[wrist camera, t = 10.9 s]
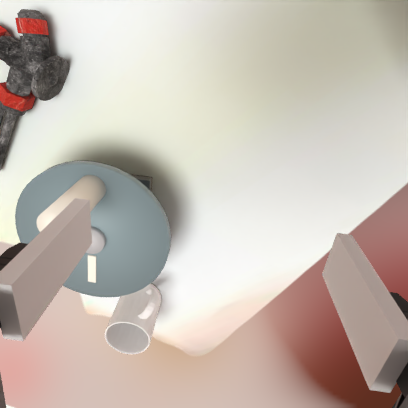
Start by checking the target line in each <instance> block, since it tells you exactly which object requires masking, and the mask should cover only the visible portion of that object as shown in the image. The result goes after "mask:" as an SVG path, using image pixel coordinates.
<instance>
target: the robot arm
mask: <svg viewBox="0 0 408 408" xmlns="http://www.w3.org/2000/svg"><path fill="white" fill-rule="evenodd" d="M91 244H92V233H91V216H90V200H86V199H78V198H75V199H74V200H73V201H72V202H71V203H70V204H69V205H68V206H67V207H66V208H65V209H64V210H63V211H62V212H61V213H59V214H58V215H57V216H56V217H55V218H54V219H53V220H52V221H51V222H50V223H49V224H48V225H47V226H46V227H45V228H44V229H43V230H42V231H41V232H40V233H39V234H38V235H37V236H36V237H35V238H34V239H33V240H32V241H31V242H30V243H29V244H26V243H19V244H17V245H15V246H13V247H11V248H9V249H7V250H6V251H5V252H4V253H3V254H2V255H1V256H0V328H1V330H2V334H3V338H5V339H11V340H19V341H24V339H25V338H26V337H27V335H28V334H29V332H30V331H31V330H32V328H33V327H34V325H35V324H36V322H37V321H38V320H39V318H40V317H41V315H42V314H43V312H44V311H45V310H46V308H47V307H48V305H49V304H50V302H51V301H52V300H53V298H54V297H55V295H56V294H57V293H58V291H59V290H60V288H61V287H62V286H63V284H64V283H65V281H66V280H67V278H68V277H69V276H70V274H71V273H72V271H73V270H74V268H75V267H76V266H77V264H78V263H79V261H80V260H81V258H82V257H83V256H84V254H85V253H86V251H87V250H88V248H89V247H90V246H91ZM322 275H323V278H324V280H325V283H326V285H327V287H328V290H329V292H330V295H331V297H332V300H333V302H334V305H335V307H336V309H337V312H338V314H339V317H340V319H341V321H342V324H343V326H344V329H345V331H346V334H347V336H348V338H349V341H350V343H351V346H352V348H353V351H354V353H355V356H356V358H357V360H358V363H359V365H360V368H361V370H362V372H363V375H364V377H365V380H366V382H367V385H368V387H369V389H370V390H375V391H382V392H389V393H390V392H391V390H392V389H393V387H394V386H395V384H396V382H397V384H398V386H399V388H400V390H401V392H402V393H401V395H400V397H399V398H398V400H397V401H396V403H395V404H394V406H393V407H392V408H408V302H407V301H406V300H405V299H403V298H402V297H401V296H399V294H397V293H392V292H389V291H388V290H387V288H386V287H385V285H384V284H383V282H382V281H381V279H380V278H379V276H378V275H377V273H376V272H375V270H374V268H373V267H372V265H371V264H370V262H369V261H368V259H367V258H366V256H365V255H364V253H363V252H362V250H361V249H360V247H359V246H358V244H357V243H356V241H355V239H354V238H353V236H352V235H347V234H340V233H337V235H336V237H335V240H334V243H333V246H332V248H331V251H330V254H329V257H328V260H327V262H326V265H325V268H324V271H323V273H322ZM0 408H6V404H5V398H4V392H3V386H2V380H1V375H0Z"/></svg>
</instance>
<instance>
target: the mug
mask: <svg viewBox="0 0 408 408" xmlns="http://www.w3.org/2000/svg"><path fill="white" fill-rule="evenodd" d="M160 303H161V294H160V292H159V290H158V289H157V288H156V287H155V286H154V285H153V284H151V283H150V284H149V285H148V286H146V287H145V288H143V289H141V290H139V291H137V292H135V293H132V294H128V295H124V296H120V299H119V301H118V303H117V305H116V308H115V310H114V312H113V315H112V317H111V320H110V322H109V324H108V326H107V328H106V331H105V338H106V341H107V343H108V344H109V345H110V346H111V347H112V348H114V349H115V350H117V351H119V352H122V353H126V354H137V353H141V352H143V351H145V350H146V349H147V348H148V346H149V345H150V340H151V337H152V333H153V330H154V326H155V322H156V318H157V315H158V311H159V307H160Z"/></svg>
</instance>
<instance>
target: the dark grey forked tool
mask: <svg viewBox="0 0 408 408" xmlns="http://www.w3.org/2000/svg"><path fill="white" fill-rule="evenodd" d="M15 19H16V24H17V30H18V33H22V34H23V36H20V40H21V42H20V41H18V40H16V39H15V38H13V37H12V36H11V35H10V33H9V32H8V31H7V30H6V29H5V28H3V27H2V26H0V59H1V60H3V61H4V62H6V64H7V65H9V66H10V70H9V74H8V78H7V82H4V83H0V126H1V123H2V119H3V115H4V112H5V111H6V112H7V113H6V117H5V120H4V124H3V127H2V131H1V135H0V170H1V167H2V164H3V160H4V157H5V153H6V150H7V147H8V143H9V140H10V137H11V133H12V130H13V127H14V123H15V120H16V117H17V116H21V115H24V114H25V112H26V111H27V110H29V109H32V107H33V104H34V101H35V96H36V97H37V98H38V99H40V100H43V101H46V100H50V99H51V98H53V97H55V96H56V95H57V94H58V93H59V92H60V91H61V89H62V88H63V85H64V83H65V80H66V78H67V75H68V73H69V65H68V63H67V61H66V60H64V59H63V58H62V57H60V56H52V57H51V52H50V45H49V38H46V37H45V35H49V33H48V26H47V21H45V20H44V16H43V15H42V14H41V13H40V12H39V11H35V10H26V9H22V10H20V12H19V13H18V18H15ZM31 90H32V92H33V93H32V92H31ZM34 95H35V96H34Z"/></svg>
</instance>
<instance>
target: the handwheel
mask: <svg viewBox="0 0 408 408" xmlns="http://www.w3.org/2000/svg"><path fill="white" fill-rule="evenodd" d="M75 198H78V199H86V200H90V216H91V233H92V244H91V246H90V247H89V248H88V250H87V251H86V253H85V254H84V256H83V257H82V258H81V260H80V261H79V263H78V264H77V266H76V267H75V268H74V270H73V271H72V273H71V274H70V276H69V277H68V278H67V280H66V281H65V283H64V284H63V286H65V287H67V288H69V289H71V290H74V291H76V292H79V293H83V294H87V295H91V296H98V297H119V296H124V295H128V294H132V293H135V292H137V291H139V290H141V289H143V288H145V287H146V286H148V285H149V284H150V283H152V282H153V281H154V280H155V279H156V278H157V277H158V275H159V274H160V273H161V271H162V269H163V268H164V266H165V263H166V261H167V257H168V254H169V250H170V244H171V233H170V226H169V222H168V219H167V216H166V214H165V211H164V210H163V208H162V206H161V204H160V203H159V201H158V200H157V199H156V197H155V196H154V194H153V193H152V192H151V191H150V190H149V189H148V188H147V187H146V186H145V185H143V184H142V183H141V182H140V181H139V180H137V179H136V178H134V177H133V176H131V175H130V174H128V173H126V172H124V171H122V170H120V169H118V168H116V167H113V166H110V165H107V164H103V163H99V162H92V161H72V162H65V163H62V164H58V165H55V166H53V167H51V168H49V169H47V170H46V171H44V172H43V173H41V174H40V175H38V176H37V177H35V178H34V179H33V180H32V181H31V182H30V183H29V184H27V186H26V187H25V189H24V190H23V191H22V193H21V195H20V197H19V199H18V203H17V207H16V214H15V219H16V228H17V233H18V236H19V239H20V242H21V243H26V244H29V243H30V242H31V241H32V240H33V239H34V238H35V237H36V236H37V235H38V234H39V233H40V232H41V231H42V230H43V229H44V228H45V227H46V226H47V225H48V224H49V223H50V222H51V221H52V220H53V219H54V218H55V217H56V216H57V215H58V214H59V213H61V212H62V211H63V210H64V209H65V208H66V207H67V206H68V205H69V204H70V203H71V202H72V201H73V200H74V199H75Z"/></svg>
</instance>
